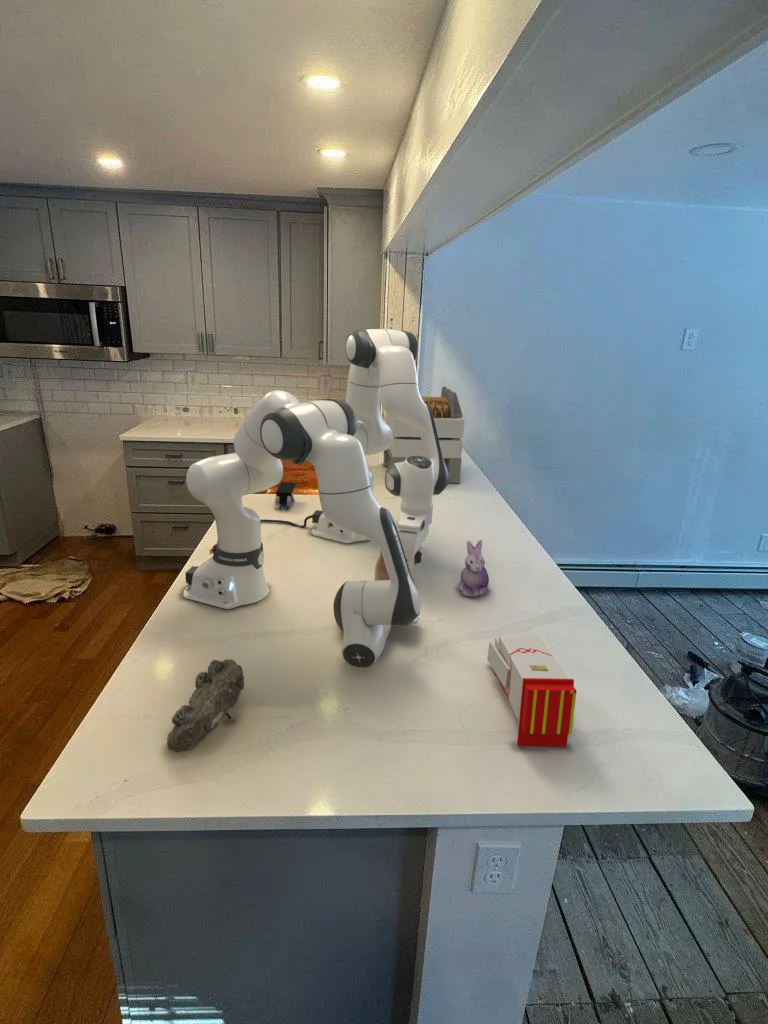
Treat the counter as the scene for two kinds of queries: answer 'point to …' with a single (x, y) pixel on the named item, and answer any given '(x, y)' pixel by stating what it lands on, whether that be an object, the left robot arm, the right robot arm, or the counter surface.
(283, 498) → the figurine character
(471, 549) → the figurine
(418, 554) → the cap
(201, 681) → the fossil
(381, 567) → the bottle
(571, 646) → the counter surface
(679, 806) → the counter surface
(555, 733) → the toy
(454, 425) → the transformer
